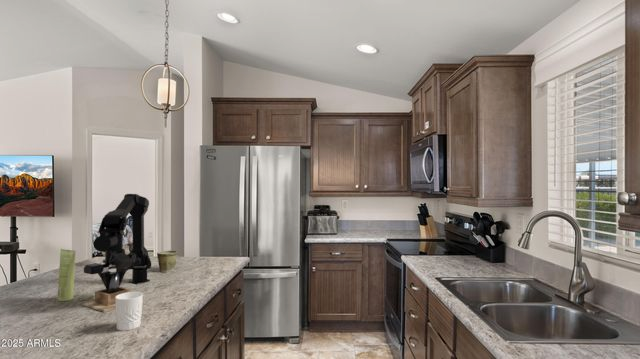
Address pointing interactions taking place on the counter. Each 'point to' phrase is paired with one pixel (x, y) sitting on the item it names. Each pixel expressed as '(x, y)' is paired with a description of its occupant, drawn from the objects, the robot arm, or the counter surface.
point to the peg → (113, 282)
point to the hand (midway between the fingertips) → (113, 287)
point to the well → (105, 300)
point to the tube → (66, 275)
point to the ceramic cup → (167, 260)
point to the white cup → (128, 310)
